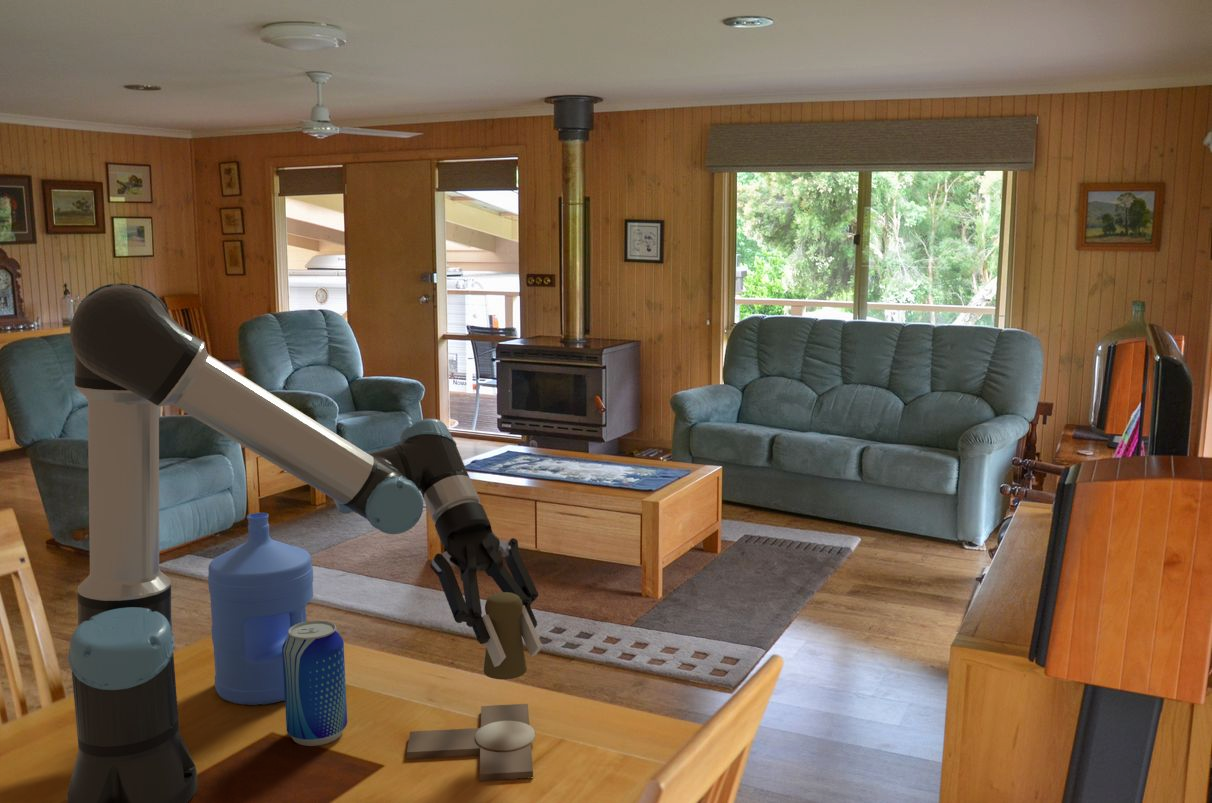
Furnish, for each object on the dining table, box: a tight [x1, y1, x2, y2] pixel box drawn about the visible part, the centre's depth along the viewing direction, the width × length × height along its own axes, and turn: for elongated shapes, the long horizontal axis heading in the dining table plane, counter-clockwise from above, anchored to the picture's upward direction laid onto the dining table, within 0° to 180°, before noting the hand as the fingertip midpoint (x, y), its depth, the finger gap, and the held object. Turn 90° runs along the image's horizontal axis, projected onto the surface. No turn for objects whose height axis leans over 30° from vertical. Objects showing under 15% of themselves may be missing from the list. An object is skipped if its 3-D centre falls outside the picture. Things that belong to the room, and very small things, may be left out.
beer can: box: [282, 619, 348, 747], centre depth 149 cm, size 8×8×16 cm
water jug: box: [207, 512, 314, 706], centre depth 164 cm, size 16×16×28 cm
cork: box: [483, 592, 528, 680], centre depth 145 cm, size 6×6×11 cm
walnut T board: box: [406, 703, 536, 782], centre depth 147 cm, size 18×20×1 cm
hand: (518, 656), depth 142 cm, fingers closed on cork, 5 cm apart
